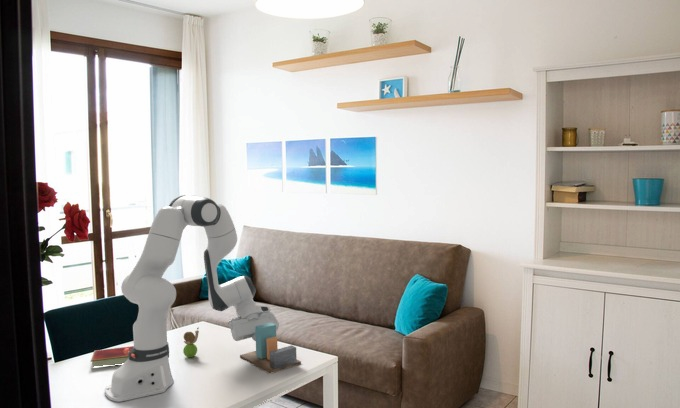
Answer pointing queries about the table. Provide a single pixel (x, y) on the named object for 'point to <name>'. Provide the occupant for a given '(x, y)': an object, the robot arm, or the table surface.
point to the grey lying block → (283, 357)
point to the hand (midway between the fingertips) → (262, 344)
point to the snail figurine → (190, 343)
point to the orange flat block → (271, 345)
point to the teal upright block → (263, 338)
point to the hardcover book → (109, 356)
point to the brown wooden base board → (263, 362)
